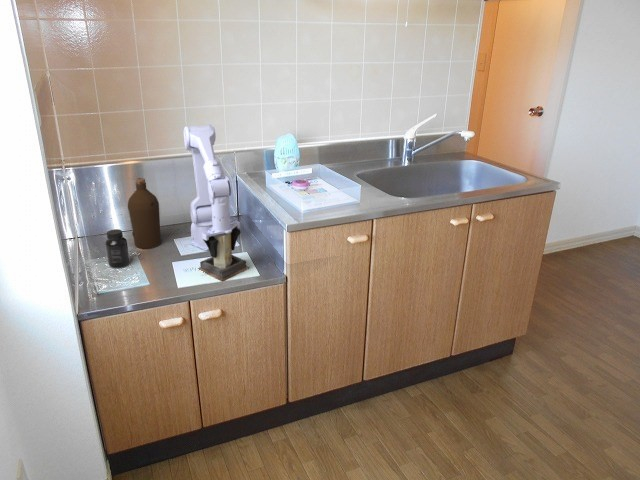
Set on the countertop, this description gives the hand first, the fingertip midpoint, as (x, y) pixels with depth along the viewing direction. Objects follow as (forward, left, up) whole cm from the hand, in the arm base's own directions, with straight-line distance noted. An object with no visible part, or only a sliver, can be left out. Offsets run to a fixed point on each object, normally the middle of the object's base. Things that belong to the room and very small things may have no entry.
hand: (222, 252), depth 165 cm
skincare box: (0, 0, -5) cm, 5 cm away
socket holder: (0, 0, -6) cm, 6 cm away
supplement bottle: (-29, -21, -6) cm, 36 cm away
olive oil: (-36, -5, -6) cm, 37 cm away
